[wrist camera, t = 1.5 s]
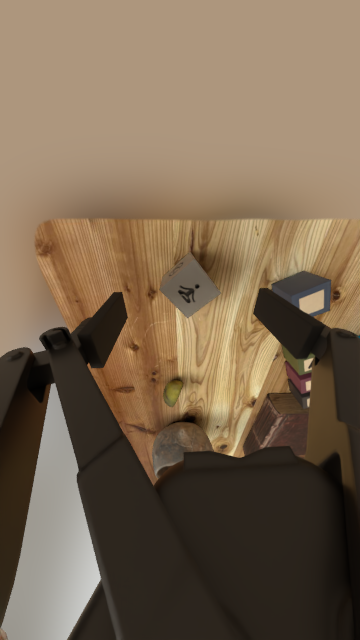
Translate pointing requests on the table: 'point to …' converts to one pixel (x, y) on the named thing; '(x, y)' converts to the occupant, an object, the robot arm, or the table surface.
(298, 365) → the block
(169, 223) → the table surface
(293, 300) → the block
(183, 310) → the dice cube
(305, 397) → the block
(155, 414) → the table surface
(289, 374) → the block
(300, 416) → the hardback book
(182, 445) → the bowl
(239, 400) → the table surface
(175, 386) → the lime
